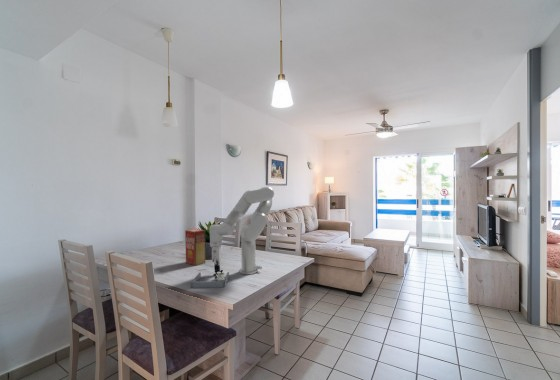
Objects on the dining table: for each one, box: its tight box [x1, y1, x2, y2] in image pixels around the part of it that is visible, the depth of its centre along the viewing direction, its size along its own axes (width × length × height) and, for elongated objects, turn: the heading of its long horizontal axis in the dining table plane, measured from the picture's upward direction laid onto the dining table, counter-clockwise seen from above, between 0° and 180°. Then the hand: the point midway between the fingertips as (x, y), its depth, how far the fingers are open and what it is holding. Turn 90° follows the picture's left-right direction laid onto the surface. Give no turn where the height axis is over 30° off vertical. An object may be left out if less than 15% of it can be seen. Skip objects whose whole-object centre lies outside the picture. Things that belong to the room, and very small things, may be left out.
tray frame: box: [190, 271, 230, 289], centre depth 157 cm, size 19×17×3 cm
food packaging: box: [184, 228, 206, 267], centre depth 196 cm, size 13×9×25 cm
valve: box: [213, 268, 225, 281], centre depth 156 cm, size 7×7×12 cm
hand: (217, 271), depth 170 cm, fingers closed
